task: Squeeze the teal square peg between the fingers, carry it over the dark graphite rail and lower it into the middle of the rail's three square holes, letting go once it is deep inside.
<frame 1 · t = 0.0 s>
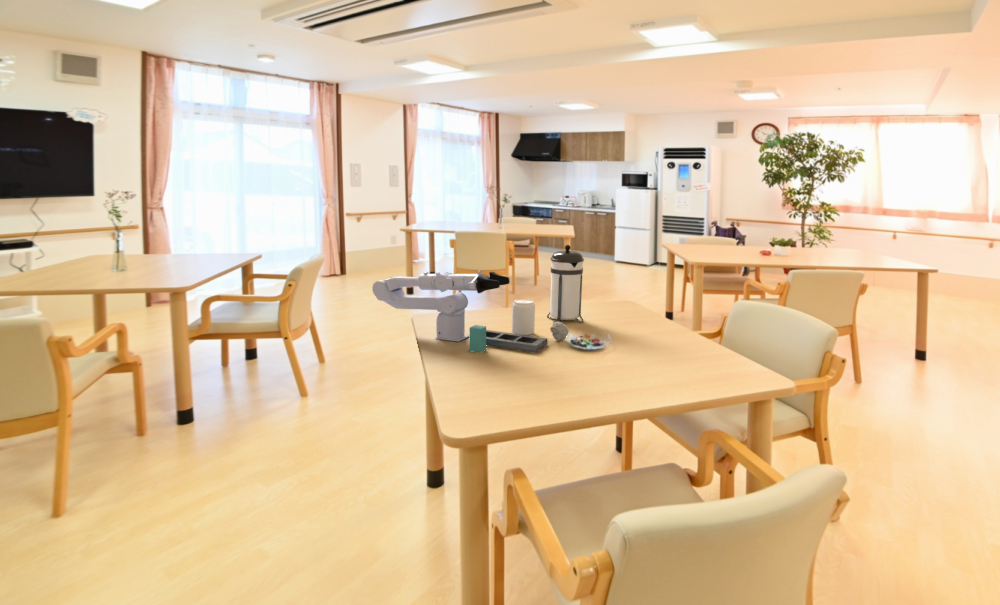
hand: (504, 282, 199), 22 cm above the table, tool horizontal, fingers open, 7 cm apart
rail: (508, 344, 205), on the table
square peg: (477, 350, 198), on the table
coffee press: (562, 320, 239), on the table
beverage can: (523, 333, 218), on the table
grey lumpy piece: (559, 341, 210), on the table
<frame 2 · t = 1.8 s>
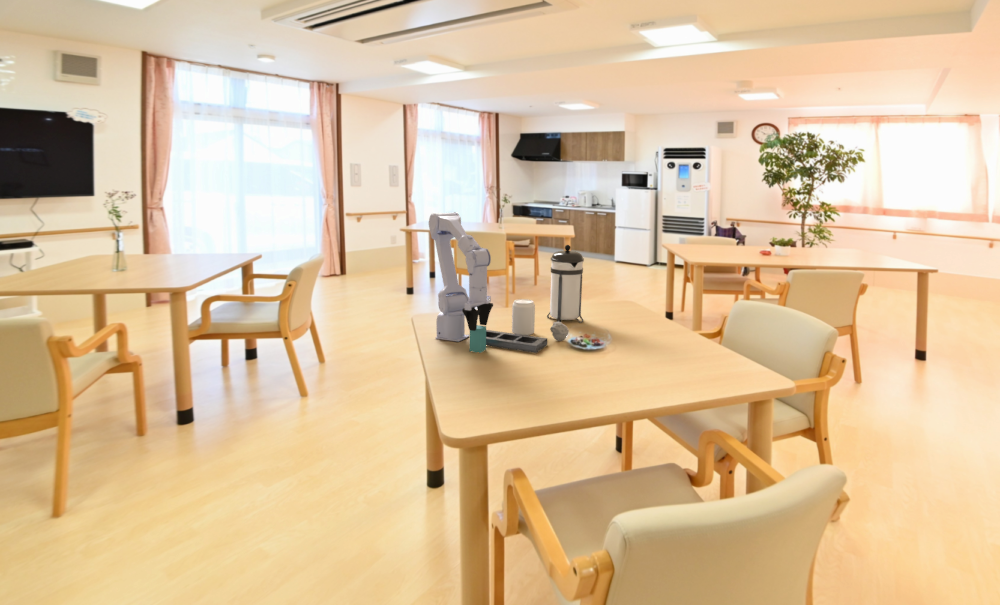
hand: (478, 327, 196), 8 cm above the table, tool pointing down, fingers open, 7 cm apart
nothing on the table moved.
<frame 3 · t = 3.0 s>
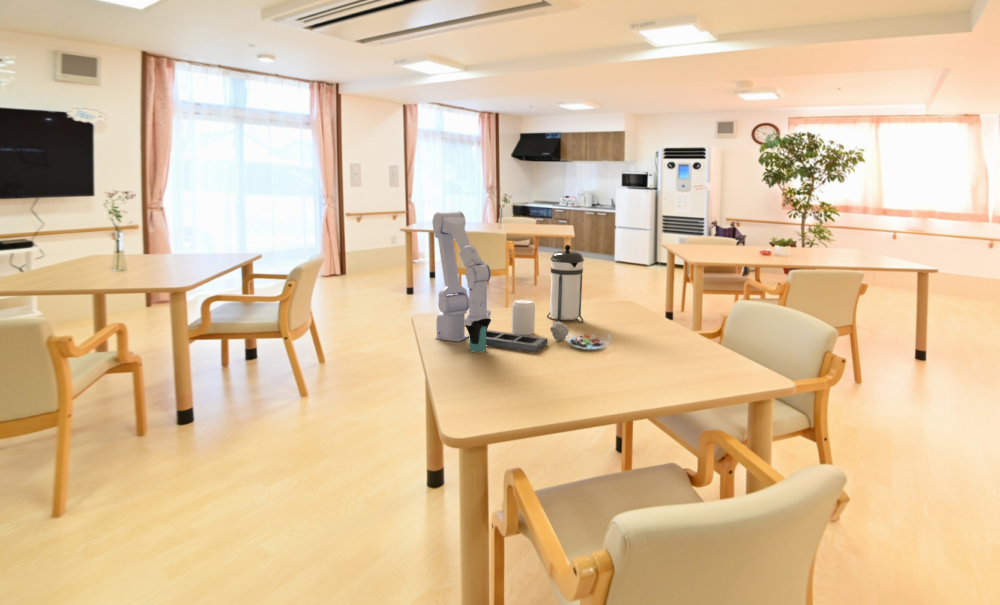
hand: (477, 341, 197), 3 cm above the table, tool pointing down, fingers closed on square peg, 4 cm apart
square peg: (477, 350, 198), on the table, touching gripper
everything else where it was.
when the fingers open (3 cm above the table, at t = 6.9 s): square peg stays where it is, resting in rail.
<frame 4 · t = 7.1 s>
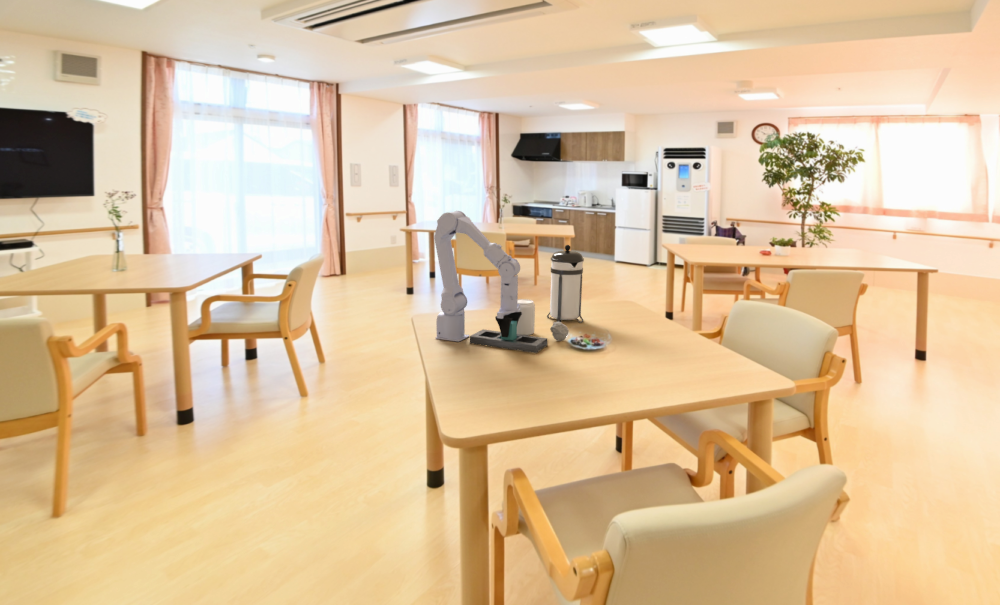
hand: (508, 334, 204), 3 cm above the table, tool pointing down, fingers open, 5 cm apart
square peg: (508, 344, 205), resting in rail
everything else where it was.
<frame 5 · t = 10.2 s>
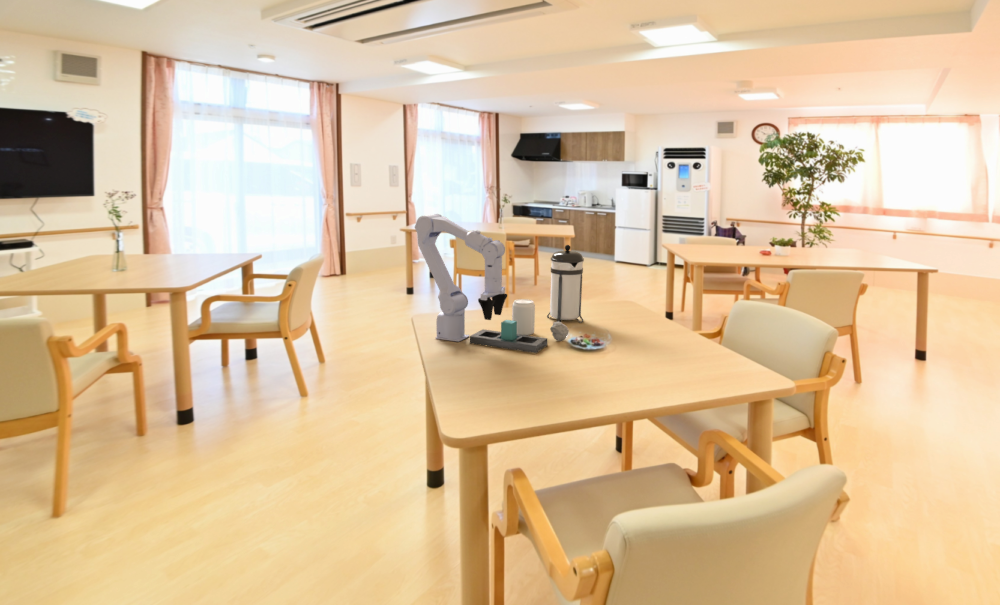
hand: (492, 317, 203), 9 cm above the table, tool pointing down, fingers open, 7 cm apart
nothing on the table moved.
at the end: square peg 0.1 cm off-centre on the rail, point 0.0 cm above the rail's base; square peg tilted 0°; the gripper is holding nothing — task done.
